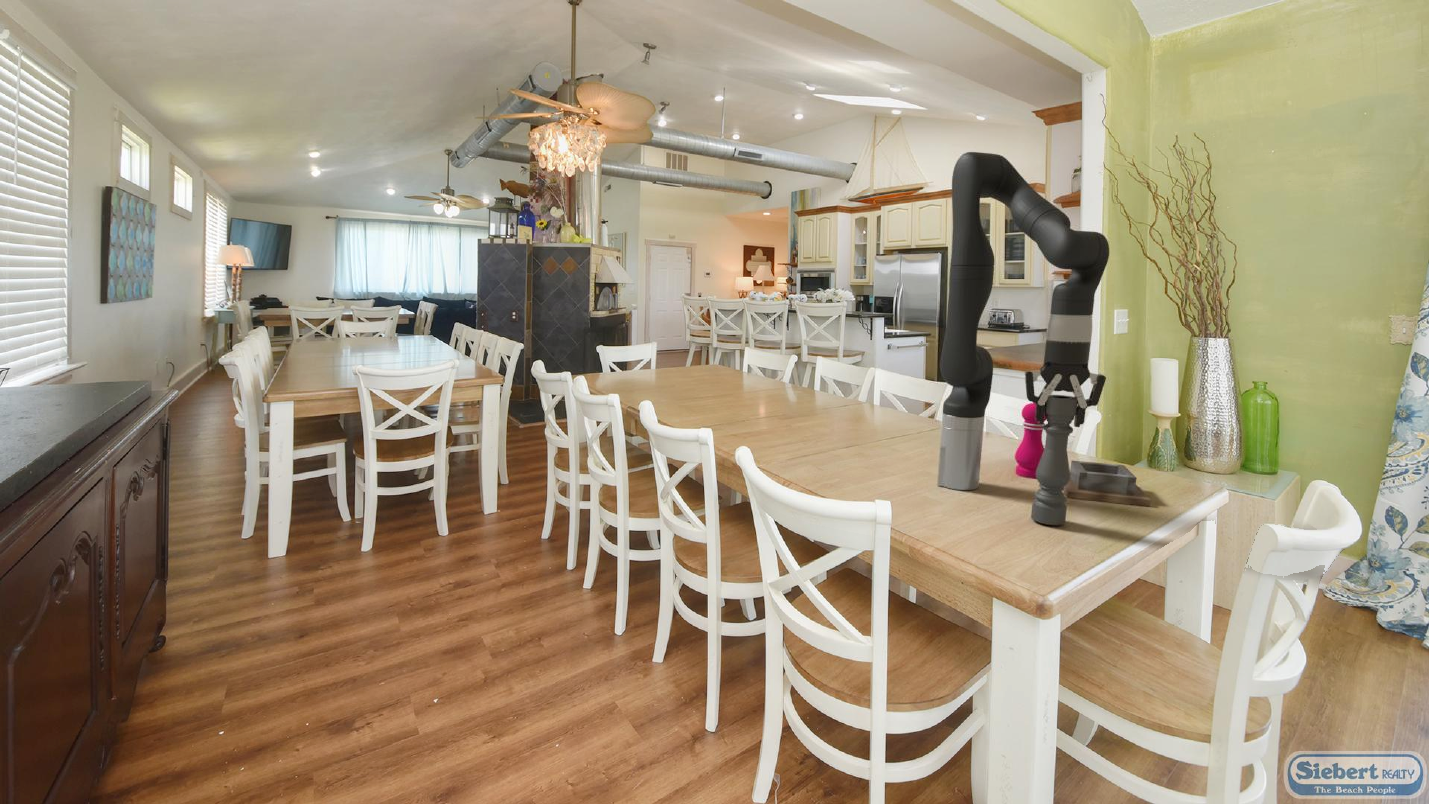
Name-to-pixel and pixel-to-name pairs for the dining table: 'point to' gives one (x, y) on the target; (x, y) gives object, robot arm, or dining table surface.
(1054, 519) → the candle holder
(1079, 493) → the socket board
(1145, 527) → the dining table surface
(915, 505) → the dining table surface
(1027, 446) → the pepper mill
